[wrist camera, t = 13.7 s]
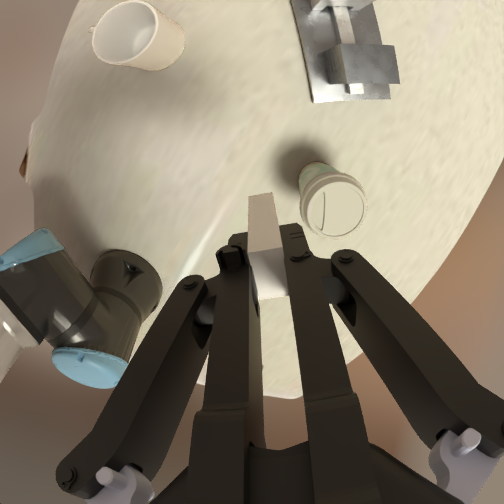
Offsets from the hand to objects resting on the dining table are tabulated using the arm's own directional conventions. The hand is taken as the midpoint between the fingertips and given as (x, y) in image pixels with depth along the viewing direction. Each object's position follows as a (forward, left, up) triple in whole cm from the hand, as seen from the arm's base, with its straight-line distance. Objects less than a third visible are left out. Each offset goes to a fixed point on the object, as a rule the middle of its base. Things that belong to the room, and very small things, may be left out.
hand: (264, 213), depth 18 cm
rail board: (+15, +20, -24) cm, 35 cm away
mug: (-12, +20, -25) cm, 34 cm away
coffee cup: (+8, -7, -25) cm, 27 cm away
